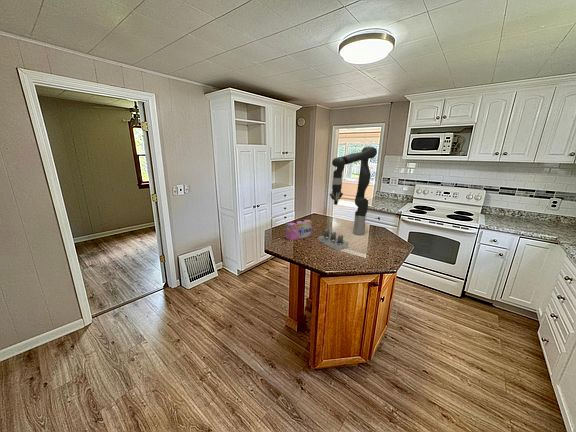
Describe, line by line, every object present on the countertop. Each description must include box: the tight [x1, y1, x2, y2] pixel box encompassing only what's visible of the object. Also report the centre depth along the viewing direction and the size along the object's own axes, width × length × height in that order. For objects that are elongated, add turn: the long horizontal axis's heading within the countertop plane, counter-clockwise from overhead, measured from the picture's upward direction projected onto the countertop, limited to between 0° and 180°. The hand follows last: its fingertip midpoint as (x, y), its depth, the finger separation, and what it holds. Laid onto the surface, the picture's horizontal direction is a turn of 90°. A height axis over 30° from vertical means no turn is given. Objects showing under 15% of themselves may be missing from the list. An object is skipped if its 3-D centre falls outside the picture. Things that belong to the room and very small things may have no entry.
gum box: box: [285, 218, 313, 241], centre depth 199 cm, size 24×8×14 cm, turn 123°
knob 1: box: [323, 228, 330, 237], centre depth 190 cm, size 4×4×5 cm
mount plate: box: [317, 233, 350, 251], centre depth 184 cm, size 12×22×4 cm, turn 30°
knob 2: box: [337, 234, 344, 243], centre depth 176 cm, size 4×4×5 cm
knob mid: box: [330, 231, 337, 240], centre depth 183 cm, size 4×4×5 cm
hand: (335, 204), depth 191 cm, fingers closed
